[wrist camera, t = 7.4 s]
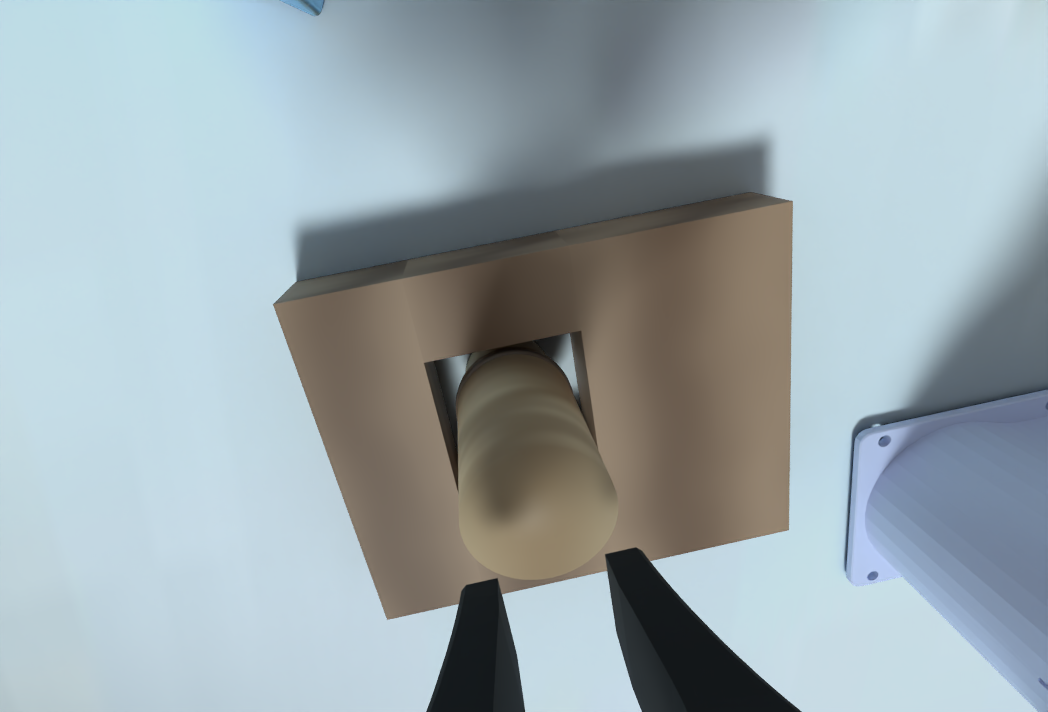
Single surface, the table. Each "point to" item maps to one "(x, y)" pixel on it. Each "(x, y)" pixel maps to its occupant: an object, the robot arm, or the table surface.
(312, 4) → the gum box
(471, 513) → the peg
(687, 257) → the board
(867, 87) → the table surface
